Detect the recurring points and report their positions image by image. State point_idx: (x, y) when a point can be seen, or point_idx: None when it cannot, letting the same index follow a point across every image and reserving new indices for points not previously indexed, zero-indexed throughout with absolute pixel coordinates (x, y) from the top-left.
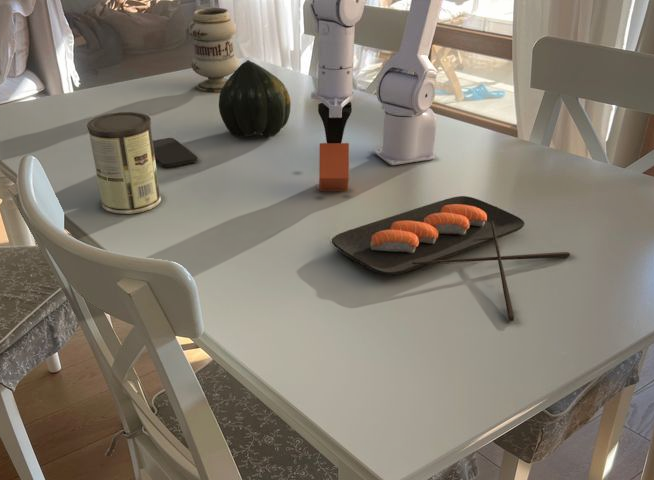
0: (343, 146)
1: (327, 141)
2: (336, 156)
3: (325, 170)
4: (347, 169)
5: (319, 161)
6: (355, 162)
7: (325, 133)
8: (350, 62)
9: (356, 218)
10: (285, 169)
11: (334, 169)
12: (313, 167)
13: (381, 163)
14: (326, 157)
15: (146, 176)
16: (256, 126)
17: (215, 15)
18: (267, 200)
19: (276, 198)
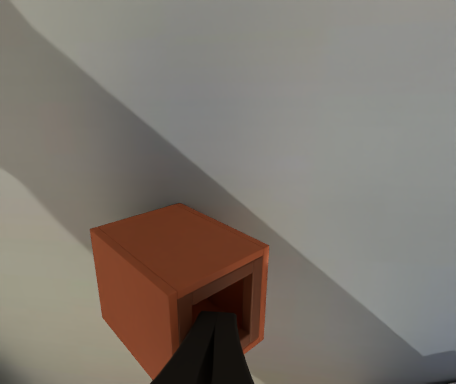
0: None
1: (189, 331)
2: (137, 326)
3: (103, 260)
4: (116, 330)
5: (148, 251)
6: (414, 319)
7: (172, 358)
8: None
9: (7, 283)
10: (395, 83)
11: (110, 291)
12: (396, 191)
13: (389, 380)
14: (130, 288)
15: None
16: None
17: None
18: (88, 23)
19: (109, 58)
